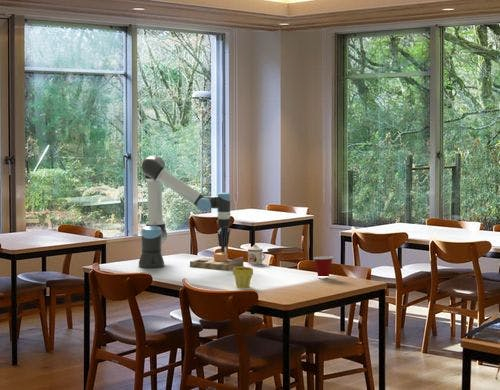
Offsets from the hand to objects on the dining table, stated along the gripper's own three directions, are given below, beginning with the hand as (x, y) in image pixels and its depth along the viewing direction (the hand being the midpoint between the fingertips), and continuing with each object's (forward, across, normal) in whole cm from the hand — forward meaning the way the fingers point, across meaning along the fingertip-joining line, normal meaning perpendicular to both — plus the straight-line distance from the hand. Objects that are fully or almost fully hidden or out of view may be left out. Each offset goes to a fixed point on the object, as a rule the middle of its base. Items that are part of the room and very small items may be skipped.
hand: (223, 257), depth 554 cm
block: (+1, -4, 0) cm, 4 cm away
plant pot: (+5, -59, -44) cm, 74 cm away
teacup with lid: (+5, +12, -17) cm, 21 cm away
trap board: (+4, -8, 0) cm, 10 cm away
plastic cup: (+4, -14, -71) cm, 72 cm away
